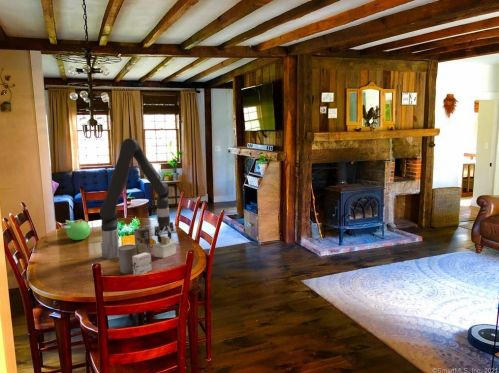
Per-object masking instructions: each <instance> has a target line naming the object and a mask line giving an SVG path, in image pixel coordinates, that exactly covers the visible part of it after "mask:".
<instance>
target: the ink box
mask: <svg viewBox="0 0 499 373" xmlns="http://www.w3.org/2000/svg"><path fill="white" fill-rule="evenodd" d="M151 256H152V253H151V254H149V253H142V254H138V255H135V256H132V259H133V276H134V275H138V274H144V273H149V272H153V270H152V257H151Z"/></svg>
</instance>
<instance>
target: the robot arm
mask: <svg viewBox="0 0 499 373" xmlns="http://www.w3.org/2000/svg"><path fill="white" fill-rule="evenodd" d="M133 158H134V160H135V161H136V162H137V164H138V165H139V167H140V170H141V171H142V173H143V175H144V176H145V177H146V180H148V182H149V184H150V186H151V188H152V190H153V191H154V192H155V194H157V200H156V218H157V219H156V220H157V224H158V226H157V225H156V226H154V237H157V243H161V242H162V240H161V236H163V234H164V233H165V232H167V237H170V240H171V239H172V233H173V232H174V230H175V229H174V222H172V221H171V218H170V217H171V216H170V208H169V207H170V206H169V205H170V204H169V194H170V188H169V185H168V184H167V183H166V182H162V180H161V179H160V175H159V173H158V171H157V170H156V169H155V167H154V166H153V165H152V163H151V162H150V161H149V159H148V157H147V155H146V154H145V153H144V151H143V149H142V147H141V144H140V143H139V141H138V140H137V139H136V138H131V137H130V138H125V139H124V140H123V141H122V143H121V146H120V151H119V155H118V158H117V161H116V163H115V167H114V169H113V172H112V173H111V176H110V180H109V184H108V186H107V192H106V195H105V198H104V200H103V202H102V205H101V207H100V209H99V211H98V212H99V216H100V218H101V225H100V226H101V240H102V242H100V245H101V246H100V249H101V258H102V259H106V260H110V259H116V258H119V252H118V247H120V246H119V245H120V244H119V234H118V233H119V231H118V210H117V209H118V208H117V205H118V202H119V200H120V197H121V195H122V194H123V191H124V189H125V187H126V185H127V182H128V178H129V175H130V167H131V166H130V165H131V161H132V159H133Z"/></svg>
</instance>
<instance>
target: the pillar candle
mask: <svg viewBox="0 0 499 373" xmlns="http://www.w3.org/2000/svg"><path fill="white" fill-rule="evenodd" d="M118 252H119V256H118V261H119V262H118V263H119V272H120V273H122V274H126V275H127V274H132V273H133V259H132V256H135V255H137V250H136V245H135V244H123V245H120V246H119V247H118ZM133 274H134V273H133Z"/></svg>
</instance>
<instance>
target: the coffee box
mask: <svg viewBox="0 0 499 373" xmlns="http://www.w3.org/2000/svg"><path fill="white" fill-rule="evenodd" d="M133 232H134V234H133V235H134V245H136V250H137V255H138V254H142V253H149V254H151V255H152V252H151V251H152V249H151V238H150V237H151V236H150V228H149V227H141V228H134V229H133Z"/></svg>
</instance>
